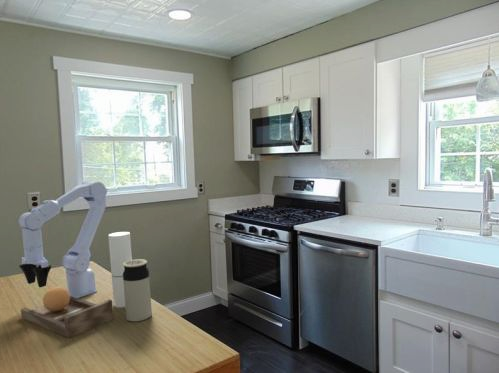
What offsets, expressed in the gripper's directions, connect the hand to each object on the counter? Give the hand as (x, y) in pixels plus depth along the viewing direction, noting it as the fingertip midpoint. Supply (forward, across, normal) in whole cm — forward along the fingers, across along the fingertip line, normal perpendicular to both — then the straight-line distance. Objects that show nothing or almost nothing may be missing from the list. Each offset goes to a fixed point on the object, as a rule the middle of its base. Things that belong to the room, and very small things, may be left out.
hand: (37, 284), depth 133 cm
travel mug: (+9, +38, +12) cm, 41 cm away
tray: (+8, +18, 0) cm, 20 cm away
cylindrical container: (+9, +24, +18) cm, 31 cm away
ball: (+3, +12, 0) cm, 13 cm away
